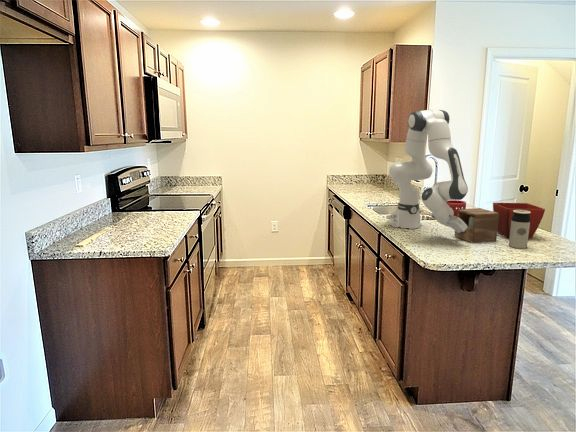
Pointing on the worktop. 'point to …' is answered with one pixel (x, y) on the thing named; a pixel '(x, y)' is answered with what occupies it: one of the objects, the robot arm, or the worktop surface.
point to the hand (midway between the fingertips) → (458, 231)
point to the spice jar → (471, 222)
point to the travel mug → (519, 229)
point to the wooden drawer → (466, 234)
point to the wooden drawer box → (481, 223)
